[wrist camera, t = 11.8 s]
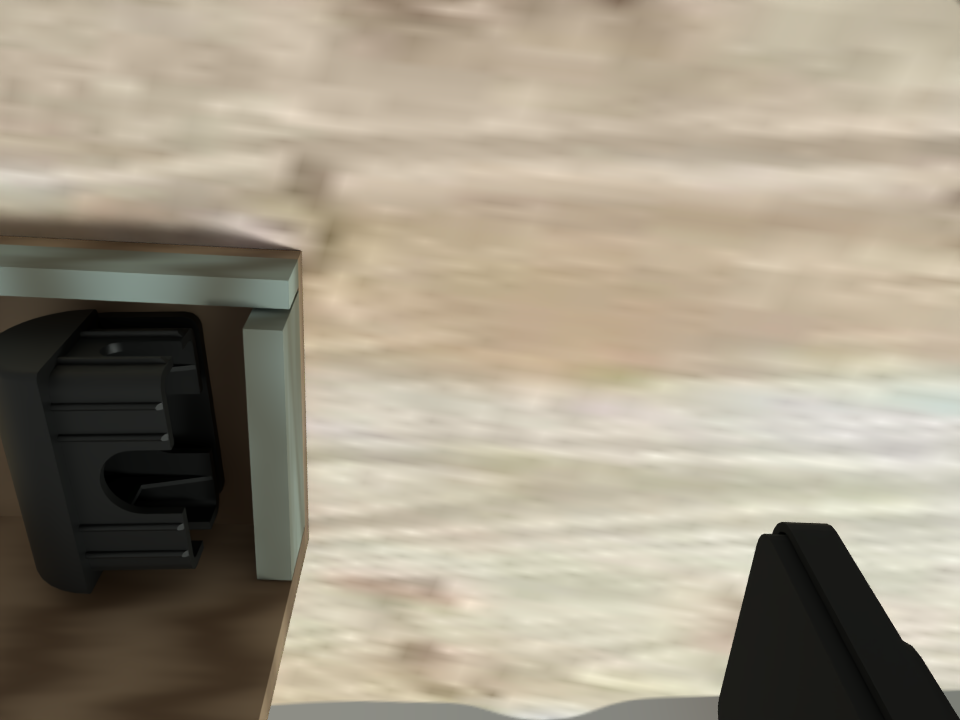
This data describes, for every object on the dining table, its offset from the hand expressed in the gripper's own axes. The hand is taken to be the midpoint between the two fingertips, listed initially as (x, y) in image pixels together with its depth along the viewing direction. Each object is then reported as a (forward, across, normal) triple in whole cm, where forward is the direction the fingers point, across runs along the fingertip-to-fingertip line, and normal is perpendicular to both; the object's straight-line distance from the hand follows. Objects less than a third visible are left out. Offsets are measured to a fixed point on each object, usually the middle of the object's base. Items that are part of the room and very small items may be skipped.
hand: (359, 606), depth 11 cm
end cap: (+27, +12, +13) cm, 33 cm away
